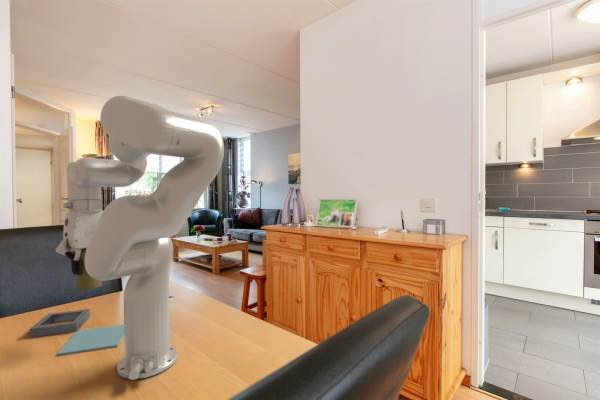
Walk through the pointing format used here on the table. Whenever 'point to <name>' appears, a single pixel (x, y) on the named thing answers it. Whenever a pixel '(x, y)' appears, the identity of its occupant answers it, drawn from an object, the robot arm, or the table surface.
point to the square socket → (48, 328)
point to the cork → (86, 276)
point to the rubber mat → (93, 339)
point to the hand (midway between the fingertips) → (88, 271)
